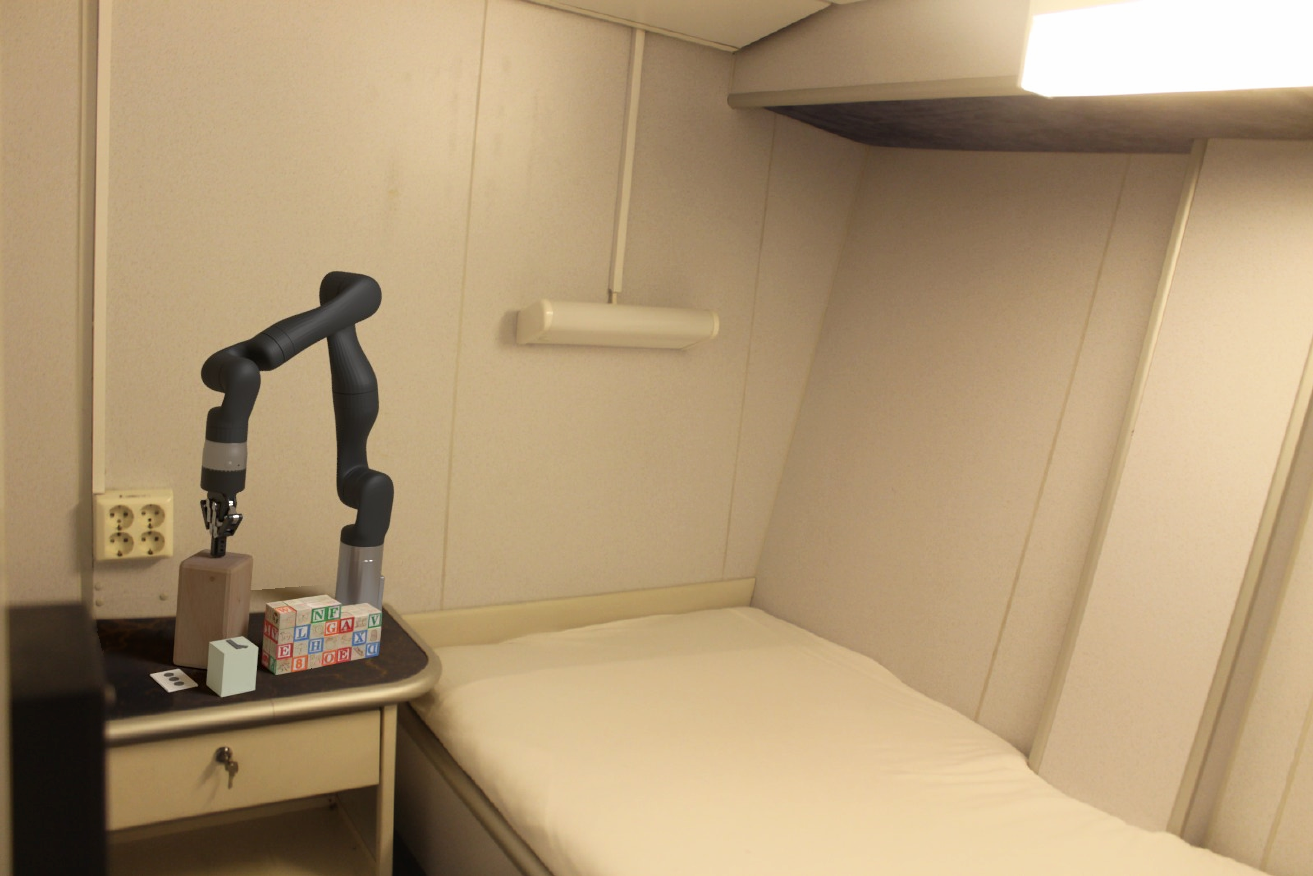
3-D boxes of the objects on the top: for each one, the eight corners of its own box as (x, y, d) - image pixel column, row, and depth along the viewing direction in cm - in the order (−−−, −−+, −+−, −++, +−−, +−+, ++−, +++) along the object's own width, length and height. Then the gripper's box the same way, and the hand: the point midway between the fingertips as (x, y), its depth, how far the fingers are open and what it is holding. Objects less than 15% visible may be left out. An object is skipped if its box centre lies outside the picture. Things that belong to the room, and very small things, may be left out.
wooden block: (224, 673, 179) (232, 568, 177) (170, 666, 179) (177, 561, 176) (248, 653, 189) (255, 553, 186) (196, 647, 189) (203, 546, 186)
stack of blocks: (363, 645, 201) (369, 588, 199) (379, 656, 197) (384, 597, 195) (260, 664, 186) (265, 601, 184) (274, 676, 182) (279, 612, 180)
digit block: (239, 678, 179) (242, 635, 177) (255, 690, 175) (258, 646, 173) (206, 685, 174) (209, 641, 173) (221, 697, 170) (224, 652, 169)
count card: (150, 675, 175) (150, 673, 174) (179, 670, 178) (179, 668, 178) (168, 692, 169) (168, 690, 169) (197, 686, 173) (197, 684, 173)
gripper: (261, 471, 177) (254, 563, 180) (228, 456, 186) (222, 544, 189) (219, 473, 172) (212, 568, 174) (188, 457, 180) (181, 548, 183)
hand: (217, 555), depth 181 cm, fingers closed
